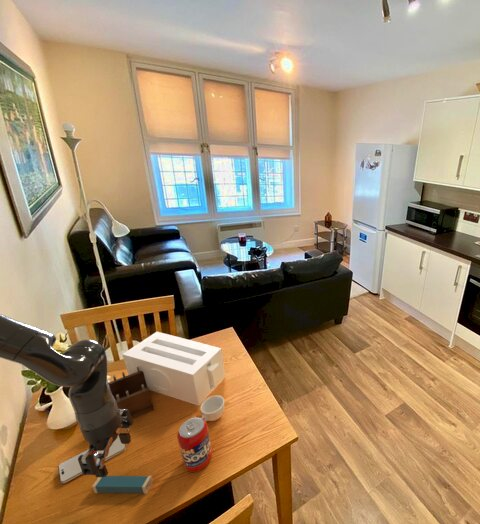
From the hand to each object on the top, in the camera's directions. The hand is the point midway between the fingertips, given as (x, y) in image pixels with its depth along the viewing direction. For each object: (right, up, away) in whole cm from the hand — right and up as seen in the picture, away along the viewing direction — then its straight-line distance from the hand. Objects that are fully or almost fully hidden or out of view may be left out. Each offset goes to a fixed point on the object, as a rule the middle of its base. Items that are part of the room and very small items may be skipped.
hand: (115, 458), depth 77 cm
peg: (-1, -11, +4) cm, 12 cm away
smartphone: (-15, -8, +11) cm, 20 cm away
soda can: (+16, -9, +12) cm, 22 cm away
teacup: (+13, -3, +26) cm, 29 cm away
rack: (-18, 0, +28) cm, 33 cm away
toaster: (-6, +3, +40) cm, 40 cm away
